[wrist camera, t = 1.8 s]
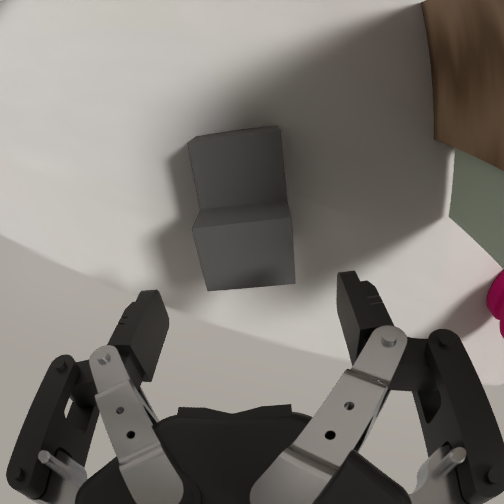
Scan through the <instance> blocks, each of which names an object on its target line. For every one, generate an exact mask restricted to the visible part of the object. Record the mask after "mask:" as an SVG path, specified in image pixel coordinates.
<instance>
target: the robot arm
mask: <svg viewBox="0 0 504 504" xmlns="http://www.w3.org/2000/svg"><path fill="white" fill-rule="evenodd" d="M337 312H338V316H339V319H340V323H341V326H342V330H343V333H344V337H345V340H346V344H347V348H348V351H349V355H350V359H351V362H352V366H353V367H352V368H351V369H347V370H345V372H344V373H343V374H342V376H341V377H340V379H339V380H338V382H337V383H336V385H335V387H334V388H333V389H332V391H331V392H330V394H329V396H328V397H327V398H326V400H325V401H324V402H323V404H322V405H321V407H320V408H319V410H318V411H317V412H316V414H315V415H314V416H313V417H311V416H308V415H305V414H302V413H297V412H292V409H291V404H287V405H276V406H262V407H258V408H255V409H251V410H247V411H243V412H239V413H234V414H231V413H226V412H221V411H216V410H212V409H208V408H192V407H190V408H189V407H179V408H178V413H177V415H174V416H170V417H168V418H165V419H163V420H161V421H159V420H158V418H157V416H156V415H155V413H154V411H153V409H152V407H151V405H150V403H149V402H148V400H147V398H146V396H145V394H144V392H143V390H142V389H141V387H140V385H141V383H142V381H144V382H151V381H152V378H153V375H154V372H155V369H156V365H157V362H158V359H159V356H160V353H161V350H162V347H163V343H164V341H165V338H166V334H167V331H168V328H169V317H168V314H167V311H166V309H165V306H164V303H163V301H162V298H161V295H160V293H159V291H158V290H146V291H141V292H140V294H139V296H138V298H137V300H136V302H132V303H131V304H130V305H129V306H128V307H127V308H126V309H125V311H124V313H123V315H122V317H121V319H120V320H119V322H118V325H117V326H116V328H115V330H114V332H113V335H112V336H111V338H110V340H109V343H108V344H107V345H106V346H102V347H100V348H98V349H96V350H95V351H94V352H93V353H92V355H91V356H90V359H89V360H85V361H80V362H75V361H74V359H73V358H72V357H71V356H70V355H61V356H59V357H57V358H56V359H55V360H54V361H53V362H52V363H51V365H50V366H49V368H48V371H47V372H46V375H45V377H44V379H43V381H42V383H41V385H40V387H39V389H38V392H37V394H36V396H35V398H34V400H33V403H32V405H31V407H30V409H29V412H28V414H27V417H26V419H25V421H24V424H23V426H22V429H21V431H20V434H19V436H18V439H17V442H16V445H15V447H14V450H13V453H12V456H11V459H10V461H9V464H8V468H7V473H6V477H7V481H8V483H9V485H10V486H11V487H12V488H13V489H15V490H17V491H18V492H20V493H22V494H23V495H25V496H26V497H27V498H29V499H31V500H32V501H34V502H36V503H38V504H483V503H485V502H487V501H489V500H490V499H492V498H494V497H496V496H497V495H499V494H501V493H502V492H503V491H504V442H503V439H502V436H501V433H500V430H499V427H498V424H497V422H496V419H495V416H494V414H493V411H492V408H491V406H490V403H489V401H488V398H487V396H486V393H485V391H484V389H483V386H482V384H481V382H480V379H479V377H478V375H477V373H476V370H475V368H474V366H473V364H472V362H471V360H470V358H469V356H468V354H467V352H466V350H465V348H464V346H463V344H462V342H461V340H460V338H459V337H458V335H457V334H455V333H454V332H452V331H450V330H447V329H438V330H435V331H433V332H432V333H431V334H430V336H429V338H428V339H418V338H410V337H407V336H406V334H405V333H404V332H403V331H402V330H401V329H399V328H398V327H395V326H394V324H393V322H392V320H391V318H390V316H389V314H388V312H387V310H386V307H385V305H384V303H383V301H382V299H381V297H380V296H379V293H378V291H377V289H376V287H375V286H374V285H372V284H371V283H370V282H369V281H360V280H359V278H358V276H357V274H356V272H355V271H347V272H339V273H338V274H337ZM391 390H401V391H412V393H413V397H414V400H415V404H416V407H417V411H418V415H419V419H420V423H421V427H422V431H423V435H424V439H425V443H426V448H427V452H428V457H429V458H428V459H427V460H426V461H425V463H423V464H422V466H421V467H420V469H419V471H418V474H417V485H416V488H415V490H414V492H413V493H412V494H409V495H408V493H407V492H406V491H405V489H404V488H403V487H402V486H400V485H399V484H398V483H396V482H395V481H393V480H392V479H391V478H390V477H388V476H387V475H386V474H384V473H383V472H382V471H380V470H379V469H378V468H377V467H375V466H374V465H373V464H372V463H370V462H369V461H368V460H367V459H365V458H364V457H363V456H362V455H360V454H359V453H358V452H359V450H360V448H361V447H362V445H363V444H364V442H365V440H366V438H367V436H368V435H369V433H370V431H371V429H372V427H373V425H374V423H375V421H376V419H377V417H378V415H379V413H380V411H381V409H382V408H383V405H384V403H385V402H386V400H387V398H388V395H389V393H390V391H391ZM69 397H70V399H71V400H72V401H73V402H72V405H71V407H70V410H69V413H68V415H67V418H65V414H64V410H65V407H66V404H67V402H68V399H69ZM99 413H100V414H101V417H102V420H103V423H104V425H105V428H106V430H107V433H108V436H109V438H110V441H111V443H112V446H113V448H114V451H115V453H116V455H117V456H116V457H115V458H114V459H113V460H112V461H110V462H109V463H108V464H107V465H106V466H104V467H103V468H102V469H100V470H99V471H98V472H97V473H95V474H94V475H93V476H91V477H90V478H89V479H88V480H87V474H86V471H85V469H84V467H85V463H86V459H87V455H88V451H89V448H90V444H91V440H92V437H93V433H94V430H95V426H96V423H97V420H98V416H99Z"/></svg>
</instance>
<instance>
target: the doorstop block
mask: <svg viewBox="0 0 504 504" xmlns="http://www.w3.org/2000/svg"><path fill="white" fill-rule="evenodd" d="M188 149H189V154H190V159H191V165H192V170H193V175H194V180H195V185H196V190H197V195H198V200H199V205H200V209H201V210H200V212H199V214H198V217H197V219H196V221H195V223H194V225H193V228H192V230H193V235H194V239H195V243H196V247H197V251H198V255H199V259H200V263H201V267H202V271H203V275H204V279H205V283H206V287H207V290H208V291H217V290H230V289H242V288H253V287H265V286H276V285H286V284H295V266H294V250H293V235H292V221H291V215H290V210H289V206H288V202H287V194H286V183H285V172H284V162H283V152H282V142H281V133H280V129H279V127H278V126H270V127H260V128H251V129H243V130H235V131H228V132H221V133H215V134H208V135H202V136H197V137H195V138H193V139H192V140H191V141H189V142H188Z"/></svg>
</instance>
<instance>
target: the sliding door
mask: <svg viewBox="0 0 504 504" xmlns="http://www.w3.org/2000/svg"><path fill="white" fill-rule="evenodd" d="M449 217H450V218H451V219H452V220H453V221H454V222H455V223H456V224H458V225H459V226H460V227H461V228H462V229H463V230H464V231H465V232H466V233H468V234H469V235H470V236H471V237H472V238H473V239H474V240H475V241H476V242H477V243H478V244H479V245H480V246H481V247H482V248H483V249H484V250H485V251H486V252H487V253H488V254H489V255H490V256H491V257H492V258H493V259H494V260H495V261H496V262H497V263H498V264H499V265H500V266H501V267H502V268H503V269H504V171H502V170H500V169H499V168H497V167H495V166H493V165H491V164H489V163H487V162H485V161H483V160H481V159H479V158H477V157H474V156H472V155H470V154H468V153H466V152H464V151H461V150H459V149H457V148H455V158H454V173H453V185H452V195H451V203H450V211H449Z"/></svg>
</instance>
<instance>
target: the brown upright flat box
mask: <svg viewBox="0 0 504 504" xmlns="http://www.w3.org/2000/svg"><path fill="white" fill-rule="evenodd" d="M421 5H422V10H423V15H424V20H425V26H426V31H427V38H428V45H429V52H430V61H431V70H432V82H433V98H434V139H435V140H438V141H440V142H443V143H445V144H447V145H450V146H452V147H454V148H457V149H459V150H461V151H464V152H466V153H468V154H470V155H472V156H474V157H477V158H479V159H481V160H483V161H485V162H487V163H489V164H491V165H493V166H495V167H497V168H499V169H500V170H502V171H504V0H426V1H424V2H421Z"/></svg>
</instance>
